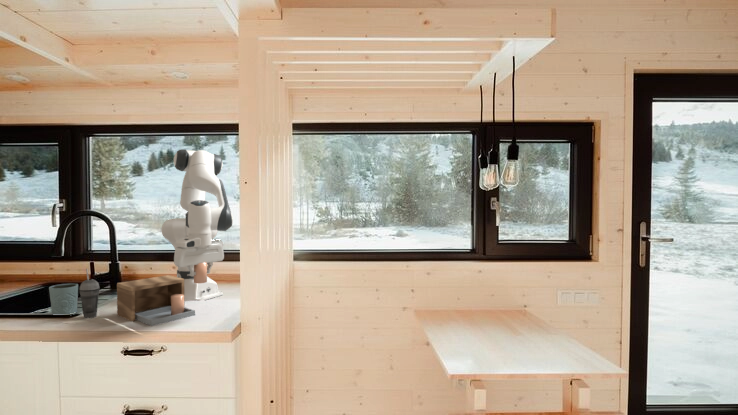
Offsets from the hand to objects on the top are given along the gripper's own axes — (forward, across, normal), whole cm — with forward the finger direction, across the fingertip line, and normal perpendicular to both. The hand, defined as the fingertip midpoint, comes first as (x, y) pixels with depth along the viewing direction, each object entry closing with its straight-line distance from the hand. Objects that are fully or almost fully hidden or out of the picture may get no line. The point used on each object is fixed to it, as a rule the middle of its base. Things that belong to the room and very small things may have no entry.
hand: (200, 274), depth 173 cm
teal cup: (+19, +31, -52) cm, 63 cm away
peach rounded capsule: (+3, 0, 0) cm, 3 cm away
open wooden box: (+19, +8, -24) cm, 31 cm away
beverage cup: (+19, +26, -39) cm, 50 cm away
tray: (+18, +8, -13) cm, 24 cm away
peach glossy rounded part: (+18, +3, -12) cm, 22 cm away
